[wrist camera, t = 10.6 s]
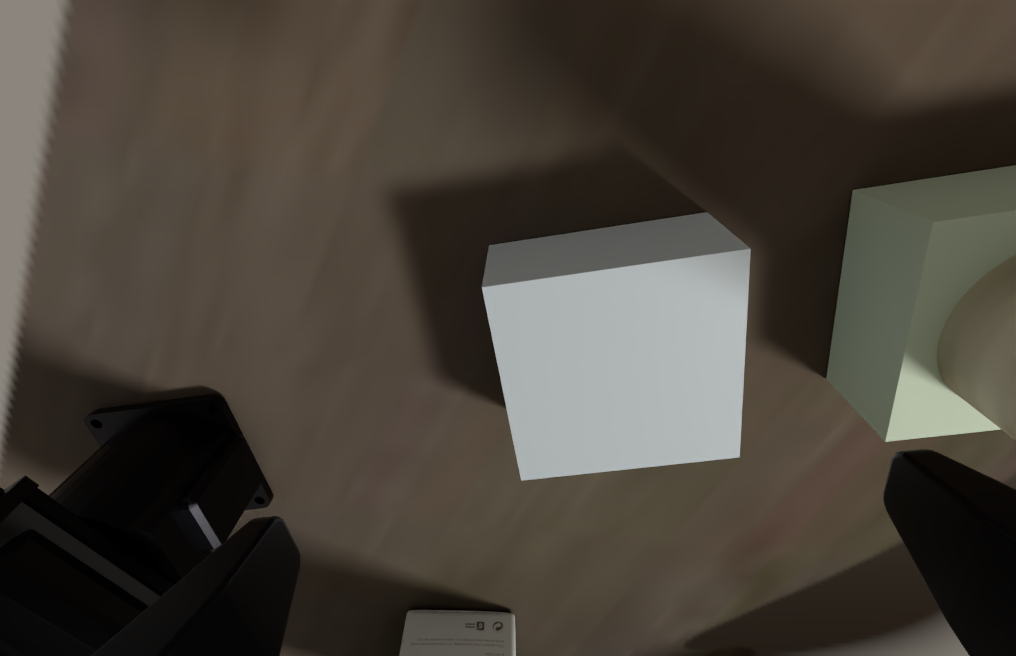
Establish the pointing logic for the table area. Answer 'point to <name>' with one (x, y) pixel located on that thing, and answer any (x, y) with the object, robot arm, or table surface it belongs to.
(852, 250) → the sage block
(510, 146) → the table surface
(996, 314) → the birch cylinder
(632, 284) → the blue-grey block
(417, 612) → the skincare box
